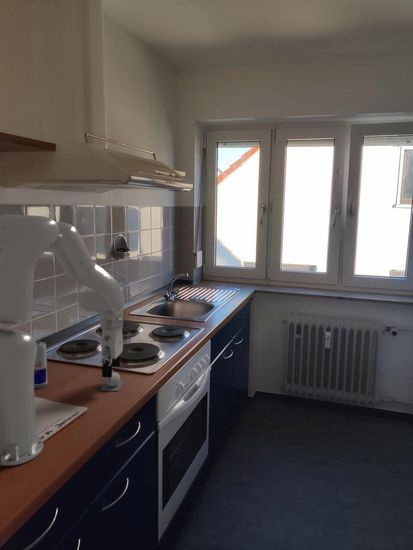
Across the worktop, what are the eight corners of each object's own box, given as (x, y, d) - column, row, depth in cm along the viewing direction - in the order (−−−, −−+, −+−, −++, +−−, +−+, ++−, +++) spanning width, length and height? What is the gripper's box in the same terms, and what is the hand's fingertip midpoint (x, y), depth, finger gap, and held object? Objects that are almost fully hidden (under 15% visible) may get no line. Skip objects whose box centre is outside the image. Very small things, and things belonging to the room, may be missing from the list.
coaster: (117, 391, 143) (117, 390, 143) (100, 390, 144) (100, 389, 144) (124, 381, 151) (124, 380, 151) (107, 380, 151) (107, 379, 151)
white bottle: (29, 385, 146) (27, 343, 144) (43, 381, 150) (42, 340, 147) (35, 390, 142) (33, 347, 140) (50, 385, 146) (48, 343, 144)
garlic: (107, 381, 150) (106, 367, 149) (122, 381, 150) (122, 367, 149) (102, 388, 144) (101, 373, 143) (117, 389, 144) (117, 374, 143)
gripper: (115, 330, 135) (114, 382, 137) (129, 317, 152) (128, 363, 154) (91, 328, 135) (91, 380, 137) (108, 316, 152) (108, 362, 155)
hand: (111, 371), depth 146 cm, fingers open, 9 cm apart
